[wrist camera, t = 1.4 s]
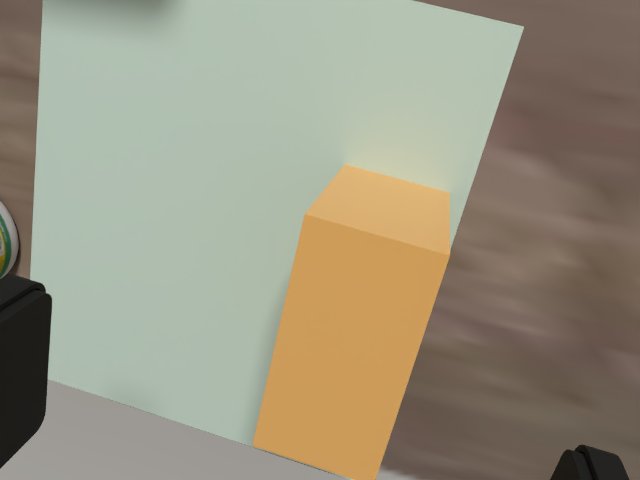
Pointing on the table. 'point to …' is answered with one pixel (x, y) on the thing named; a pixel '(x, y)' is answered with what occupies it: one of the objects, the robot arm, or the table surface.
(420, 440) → the table surface
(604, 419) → the table surface
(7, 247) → the supplement bottle
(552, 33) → the table surface
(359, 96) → the lid
